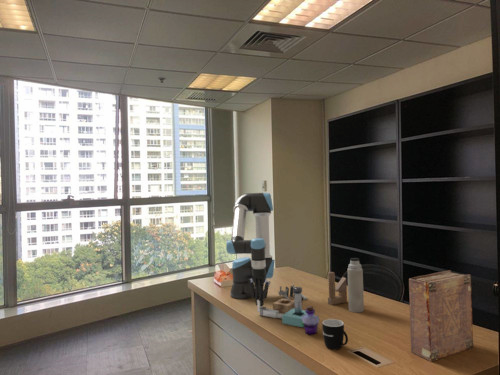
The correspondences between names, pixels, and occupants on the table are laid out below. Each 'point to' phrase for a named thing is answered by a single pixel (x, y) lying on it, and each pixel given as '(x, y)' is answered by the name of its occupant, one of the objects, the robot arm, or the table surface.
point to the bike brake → (286, 292)
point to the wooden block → (337, 290)
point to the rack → (283, 305)
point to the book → (440, 314)
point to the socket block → (293, 318)
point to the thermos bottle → (355, 286)
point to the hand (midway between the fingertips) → (260, 311)
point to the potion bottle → (310, 321)
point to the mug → (334, 333)
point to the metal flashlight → (297, 300)
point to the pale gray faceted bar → (270, 313)
